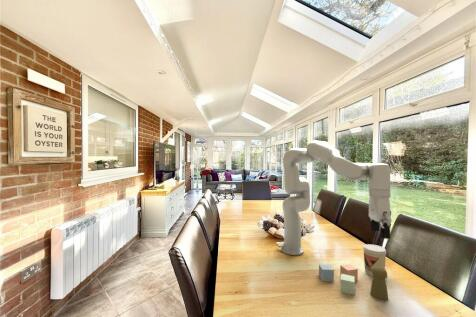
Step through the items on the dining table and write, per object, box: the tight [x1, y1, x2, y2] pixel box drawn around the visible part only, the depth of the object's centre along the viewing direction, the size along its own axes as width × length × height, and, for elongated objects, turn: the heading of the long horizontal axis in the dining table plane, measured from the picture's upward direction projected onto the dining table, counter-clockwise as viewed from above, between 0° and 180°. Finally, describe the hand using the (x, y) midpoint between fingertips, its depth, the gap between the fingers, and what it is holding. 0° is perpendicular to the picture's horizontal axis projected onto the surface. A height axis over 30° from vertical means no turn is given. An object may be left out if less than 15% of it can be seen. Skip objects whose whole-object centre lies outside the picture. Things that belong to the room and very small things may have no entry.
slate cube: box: [318, 263, 335, 282], centre depth 102 cm, size 5×5×5 cm
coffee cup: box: [362, 243, 387, 277], centre depth 106 cm, size 9×9×12 cm
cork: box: [369, 266, 389, 302], centre depth 89 cm, size 6×6×11 cm
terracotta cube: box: [339, 263, 359, 282], centre depth 102 cm, size 5×5×5 cm
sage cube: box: [340, 274, 356, 295], centre depth 93 cm, size 5×5×5 cm
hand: (380, 234), depth 94 cm, fingers open, 9 cm apart
